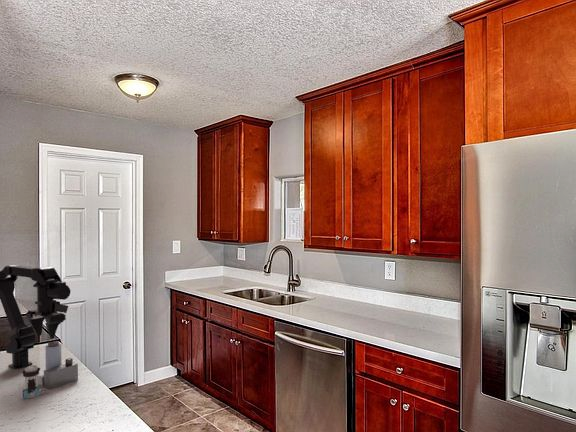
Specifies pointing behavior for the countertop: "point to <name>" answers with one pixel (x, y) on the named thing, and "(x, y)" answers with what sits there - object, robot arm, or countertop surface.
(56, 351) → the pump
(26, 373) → the push button
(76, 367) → the motor block
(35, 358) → the countertop surface
